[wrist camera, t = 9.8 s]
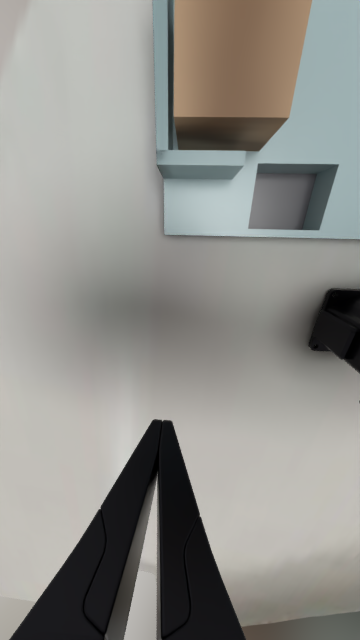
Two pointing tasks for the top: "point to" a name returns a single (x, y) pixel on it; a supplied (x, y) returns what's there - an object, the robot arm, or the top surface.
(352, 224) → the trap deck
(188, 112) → the walnut block
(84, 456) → the top surface
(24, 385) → the top surface
